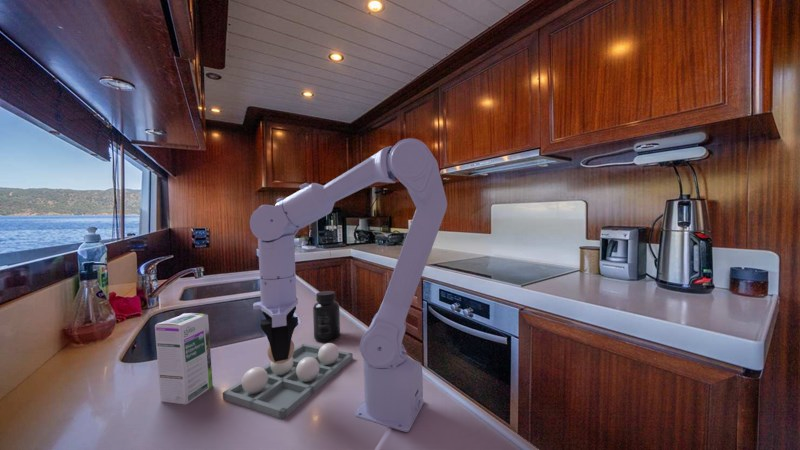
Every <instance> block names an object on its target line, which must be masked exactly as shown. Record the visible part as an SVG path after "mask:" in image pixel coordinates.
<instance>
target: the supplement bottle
mask: <svg viewBox="0 0 800 450" xmlns="http://www.w3.org/2000/svg"><path fill="white" fill-rule="evenodd" d="M315 297H316V298H315V299H316V303H315V304H314V305H313V307H312V315H313V316H312V317H313V321H312V323H313V339H314V340H315V341H316V342H319V343H331V342H333V341H336V340H338V338H340V336H341V315H340V314H341V313H340V312H341V311H340V304H339V302H338V301H336V292H335V291H334V290H324V291H323V290H322V291H319V292H317V293H316V295H315Z"/></svg>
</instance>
